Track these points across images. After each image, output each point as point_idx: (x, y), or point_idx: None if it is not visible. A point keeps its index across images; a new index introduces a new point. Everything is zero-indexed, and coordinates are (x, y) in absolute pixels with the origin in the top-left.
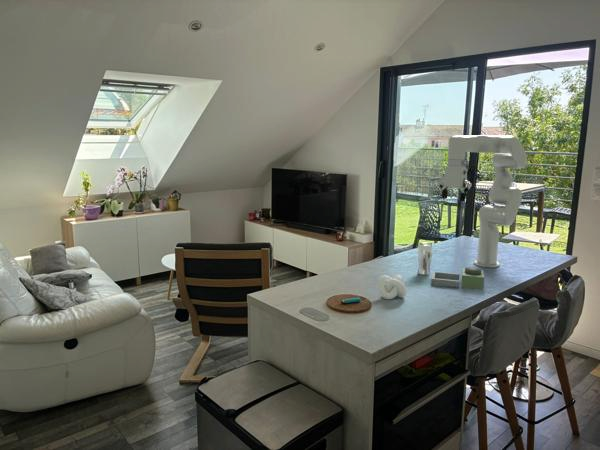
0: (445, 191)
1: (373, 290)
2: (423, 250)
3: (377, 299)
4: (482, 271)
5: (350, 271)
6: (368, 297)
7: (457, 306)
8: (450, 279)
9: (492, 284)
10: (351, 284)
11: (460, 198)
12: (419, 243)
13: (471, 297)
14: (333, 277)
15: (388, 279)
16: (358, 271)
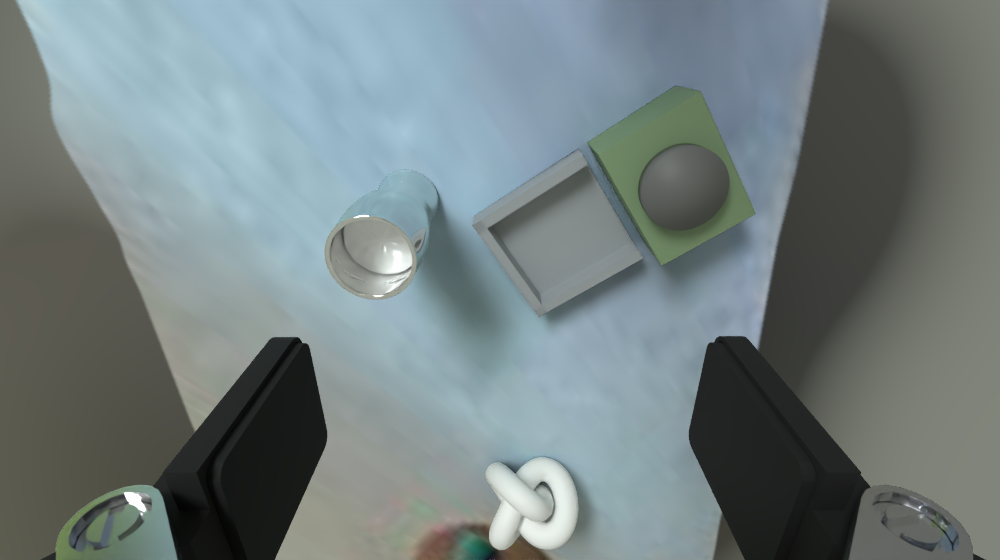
0: (252, 530)
1: (447, 475)
2: (399, 283)
3: None
4: (711, 126)
5: None
6: (484, 517)
7: None
8: (556, 195)
9: (730, 74)
10: (361, 486)
11: (716, 482)
12: (338, 278)
13: (721, 302)
14: None
15: (515, 530)
16: None
